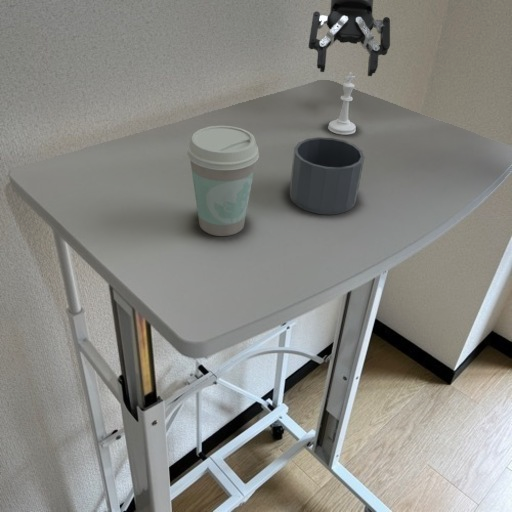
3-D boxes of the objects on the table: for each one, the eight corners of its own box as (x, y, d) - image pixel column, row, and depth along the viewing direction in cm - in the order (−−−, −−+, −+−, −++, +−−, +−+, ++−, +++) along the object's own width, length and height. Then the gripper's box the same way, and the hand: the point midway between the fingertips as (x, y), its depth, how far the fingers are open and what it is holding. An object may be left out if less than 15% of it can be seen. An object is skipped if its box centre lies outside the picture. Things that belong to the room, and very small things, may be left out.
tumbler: (350, 182, 82) (358, 139, 78) (360, 216, 75) (369, 170, 71) (288, 179, 82) (292, 136, 78) (291, 213, 75) (296, 167, 70)
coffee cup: (193, 245, 67) (191, 156, 60) (185, 209, 74) (182, 125, 67) (261, 239, 69) (267, 152, 62) (247, 204, 76) (251, 122, 69)
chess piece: (324, 124, 99) (331, 68, 93) (349, 122, 100) (358, 67, 95) (333, 135, 96) (341, 78, 90) (359, 134, 97) (369, 77, 91)
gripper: (315, -28, 97) (308, 58, 94) (397, -22, 96) (391, 65, 94) (312, -2, 104) (305, 78, 102) (387, 4, 104) (382, 85, 101)
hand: (346, 72), depth 98 cm, fingers open, 8 cm apart
